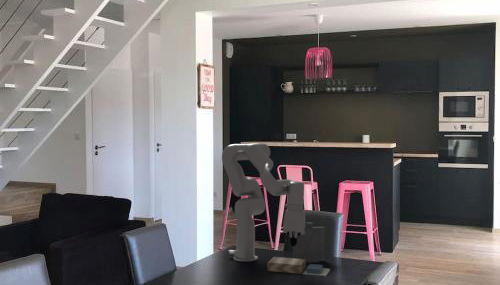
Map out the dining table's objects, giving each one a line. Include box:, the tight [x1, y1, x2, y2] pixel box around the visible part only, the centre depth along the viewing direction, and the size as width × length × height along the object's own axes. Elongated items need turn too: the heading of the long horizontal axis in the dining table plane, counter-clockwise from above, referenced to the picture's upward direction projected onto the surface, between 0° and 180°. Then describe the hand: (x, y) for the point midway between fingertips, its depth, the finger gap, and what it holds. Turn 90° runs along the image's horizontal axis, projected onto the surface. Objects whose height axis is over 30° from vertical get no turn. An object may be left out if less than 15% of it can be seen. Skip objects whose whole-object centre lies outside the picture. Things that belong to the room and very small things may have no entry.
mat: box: [301, 267, 331, 277], centre depth 254 cm, size 11×13×1 cm
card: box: [305, 263, 324, 274], centre depth 255 cm, size 6×9×2 cm, turn 163°
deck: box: [266, 256, 307, 275], centre depth 258 cm, size 16×12×4 cm
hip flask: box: [292, 221, 326, 263], centre depth 274 cm, size 16×4×20 cm, turn 94°
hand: (293, 245), depth 258 cm, fingers closed
